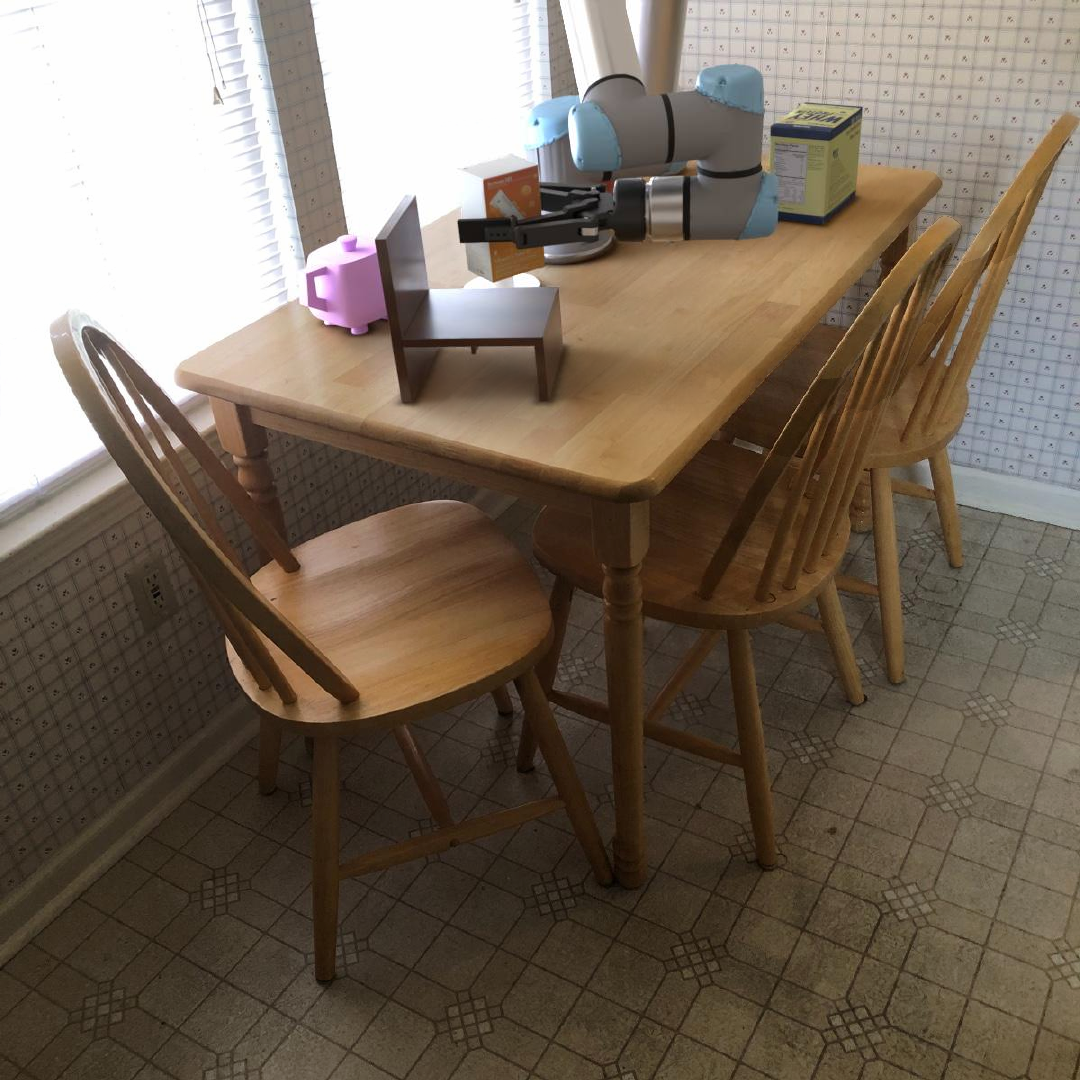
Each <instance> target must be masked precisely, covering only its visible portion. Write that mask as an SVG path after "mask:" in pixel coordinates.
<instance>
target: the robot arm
mask: <svg viewBox="0 0 1080 1080" xmlns="http://www.w3.org/2000/svg"><path fill="white" fill-rule="evenodd" d="M559 2H560V7H561V12H562V16H563V21H564V25H565V31H566V35H567V36H566V37H567V40H568V45H569V50H570V54H571V58H572V59H571V60H572V64H573V70H574V75H575V80H576V85H577V88H578V93H579V94H577V95H574V94H570V95H563V96H559V97H555V98H551V99H549V100H545V101H542V102H540V103H538V104H536V105H534V106H533V107H531V108H530V109H529V110H527V111H526V112H525V114H524V116H523V118H522V120H521V137H522V140H521V147H522V149H523V157H524V158H523V159H525V160H528V161H530V162H533V163H535V164H538V169H539V184H540V199H541V214H542V215H539V216H535V217H530V218H525V219H521V220H517V217H516V216H515V215H511V216H510V217H509V218H479V219H462V218H458V219H457V221H456V222H457V231H458V239H459V244H465V243H487V242H513V243H514V244H516V249H520V250H522V249H528V248H536V247H544V257H545V264H549V265H550V264H551V265H567V264H576V263H582V262H587V261H591V260H594V259H596V258H599V257H601V256H603V255H604V254H606V253H608V252H609V251H610V250H611V248H612V246H613V236H612V231H611V230H613V232H614V238H615V241H616V242H617V243H619V244H630V243H631V244H633V243H634V244H635V243H644V241H646V239H647V237H649V238H650V241H652V242H667V243H668V244H669V245H675V244H676V242H683V241H685V242H686V241H687V242H690V241H736V242H737V241H738V242H740V241H746V240H757V239H762V238H764V239H765V238H768V237H771V236H772V235H774V233H775V232H776V230H777V228H778V227H777V226H778V220H779V219H778V197H779V195H778V178H777V176H776V175H775V174H774V173H769V172H766V171H764V170H763V165H762V158H763V156H762V154H763V140H764V120H765V113H766V108H765V88H764V77H763V75H762V73H761V72H760V70H759V69H757V68H756V67H754V66H751V65H746V64H739V63H733V64H731V63H728V64H727V63H726V64H718V65H715V66H712V67H711V66H710V67H706V68H703V69H702V70H701V71H700V72H699V73H698V74H697V78H696V83H695V86H694V87H695V89H694V90H686V91H684V89H683V88H682V86H681V85H680V84H679V81H680V73H681V65H682V54H683V53H682V52H683V46H684V39H685V29H686V23H687V22H686V21H687V13H688V5H689V4H688V3H689V0H559ZM692 161H696V172H697V175H670V176H662V175H665V174H668V173H674V172H678V171H680V170H681V171H683V170H684V169H685V167H686V166H687V165H688V163H689V162H692ZM681 171H680V172H681ZM648 177H651V178H650V179H649V181H648V182H647V181H646V179H644V178H648ZM612 180H615V184H614V193H613V194H610V193H607V185H606V184H603V183H601V184H598V183H599V182H604V181H612Z"/></svg>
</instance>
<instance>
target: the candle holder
mask: <svg viewBox="0 0 1080 1080" xmlns="http://www.w3.org/2000/svg"><path fill="white" fill-rule="evenodd" d="M513 287H541V282H540V280H539V279H538V278H537V277H535V276H534V275H532V274H528V273H522V274H519V275H516V276H513V277H509V278H506V279H503V280H500V281H498V282H495V283H492V282H490V281H488V280H486V279H484V278H482V277H480V276H478V277H475V278H474V279H472V280H471V281H469V282H467V283H466V284H465V285H464V287H463V289H465V288H513Z"/></svg>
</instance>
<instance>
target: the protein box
mask: <svg viewBox="0 0 1080 1080" xmlns="http://www.w3.org/2000/svg"><path fill="white" fill-rule="evenodd" d="M863 110H864V106H859V105H846V104H833V103H818V102H809V101H805V102H804V103H802V104H800V105H799V106H798V107H797V108H795V109H793V110H792V111H790V112H789V113H787V114H786V115H785V116H783V117H782V118H780V119H779V120H777V121H775V122H773V124H771V125H770V131H769V132H770V134H769V163H768V166H769V167H768V173H774V174H775V175H776V176H777V178H778V195H779V197H778V220H782V221H790V222H796V223H797V222H798V223H804V224H805V223H807V224H815V225H821V226H824V225H825V224H826V223H828V222H829V221H830V220H831V219H832V218H834V216H836V215H837V214H838V213H839V212H841V210H843V209H844V208H845V207H846V206H847V205H848V204H850V203H851V202H852V201H853V200H854V199H855V198H856V194H857V183H858V182H857V181H858V171H859V170H858V169H859V160H860V146H861V135H862V122H863V113H864V112H863Z"/></svg>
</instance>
